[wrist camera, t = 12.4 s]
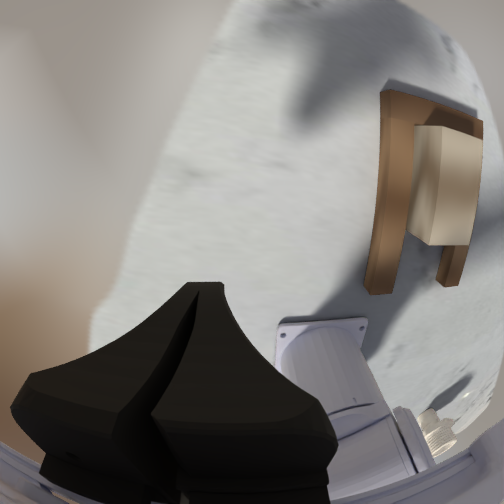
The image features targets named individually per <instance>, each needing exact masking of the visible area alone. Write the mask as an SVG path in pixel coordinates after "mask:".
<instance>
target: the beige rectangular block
mask: <svg viewBox="0 0 504 504" xmlns="http://www.w3.org/2000/svg"><path fill="white" fill-rule="evenodd" d="M482 150H483V140H481V139H478V138H475V137H473V136H470V135H467V134H465V133H462V132H459V131H456V130H453V129H450V128H447V127H444V126H414V154H413V170H412V182H411V191H410V200H409V208H408V215H407V222H406V228H405V230H407V231H408V232H410V233H411V234H413V235H414V236H416V237H417V238H419V239H420V240H422V241H423V242H425V243H426V244H428V245H469V243H470V238H471V234H472V229H473V224H474V219H475V213H476V207H477V201H478V194H479V186H480V177H481V166H482Z"/></svg>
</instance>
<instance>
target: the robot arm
mask: <svg viewBox="0 0 504 504" xmlns="http://www.w3.org/2000/svg"><path fill="white" fill-rule="evenodd" d="M367 325H368V320H367V318H365V317H359V318H349V319H339V320H327V321H314V322H299V323H283V324H280V325H279V326H278V327H277V338H276V354H275V368H274V367H273V366H272V365H271V364H270V363H269V362H268V361H267V360H266V359H265V358H264V357H263V356H262V355H261V354H260V353H259V352H258V351H257V349H256V348H255V347H254V346H253V345H252V343H251V342H250V341H249V340H248V338H247V337H246V336H245V334H244V333H243V331H242V330H241V328H240V326H239V325H238V323H237V321H236V320H235V318H234V316H233V314H232V312H231V310H230V308H229V305H228V303H227V300H226V297H225V293H224V284H223V283H222V282H187V283H186V284H185V285H184V286H183V287H181V288H180V289H179V290H178V291H177V292H176V293H175V294H174V295H173V296H172V297H171V298H170V299H169V300H168V301H167V302H165V303H164V304H163V305H162V306H161V307H160V308H159V309H158V310H156V311H155V312H154V313H153V314H152V315H150V316H149V317H148V318H147V319H145V320H144V321H143V322H142V323H140V324H139V325H138V326H136V327H135V328H134V329H132V330H131V331H129V332H128V333H126V334H124V335H123V336H121V337H120V338H118V339H117V340H115V341H113V342H111V343H109V344H107V345H105V346H104V347H102V348H100V349H98V350H96V351H94V352H92V353H90V354H88V355H85V356H83V357H81V358H78V359H76V360H73V361H71V362H68V363H65V364H62V365H59V366H56V367H53V368H49V369H46V370H42V371H38V372H35V373H31V374H30V375H29V377H28V378H27V380H26V381H25V383H24V385H23V386H22V388H21V389H20V391H19V393H18V394H17V396H16V398H15V399H14V401H13V403H12V405H11V406H10V408H11V413H12V416H13V418H14V419H15V421H16V423H17V424H18V425H19V426H20V427H21V429H22V430H23V431H24V432H25V433H26V434H27V435H28V436H29V437H30V438H31V439H32V440H33V441H34V442H35V443H36V444H37V445H38V446H39V447H40V448H41V449H42V450H43V451H44V452H45V453H46V455H45V458H44V460H43V463H42V465H41V464H39V463H37V462H35V461H33V460H31V459H29V458H28V457H26V456H24V455H22V454H20V453H19V452H17V451H15V450H13V449H12V448H10V447H8V446H7V445H5V444H4V443H2V442H0V504H69V503H67V502H66V501H64V500H62V499H60V498H58V497H56V496H54V495H53V494H52V492H51V491H53V492H55V493H57V494H59V495H61V496H63V497H66V498H68V499H70V500H72V501H75V502H77V503H80V504H500V503H501V502H502V501H503V500H504V419H502V420H501V421H499V422H498V423H496V424H495V425H494V426H492V427H490V428H489V429H488V430H486V431H485V432H484V433H482V434H481V435H480V436H479V437H478V438H477V439H476V440H475V441H474V442H473V443H472V444H471V445H470V447H469V448H467V449H465V450H464V451H462V452H460V453H458V454H457V455H455V456H453V457H451V458H449V459H447V460H445V461H443V462H441V463H439V464H437V465H436V464H435V461H434V459H433V456H432V454H431V451H430V449H429V447H428V444H427V442H426V440H425V438H424V435H423V433H422V431H421V429H420V427H419V425H418V423H417V421H416V419H415V417H414V415H413V414H412V412H411V410H410V409H407V408H402V407H401V406H398V407H396V408H395V409H393V413H394V415H395V417H394V416H393V414H392V412H391V410H390V408H389V407H388V405H387V403H386V401H385V400H384V398H383V395H382V393H381V391H380V389H379V387H378V385H377V383H376V380H375V378H374V376H373V374H372V372H371V370H370V368H369V366H368V364H367V362H366V360H365V358H364V356H363V354H362V352H361V350H360V349H361V346H362V343H363V339H364V336H365V333H366V329H367ZM362 326H363V327H362ZM360 327H362V328H360ZM282 333H285V334H284V335H281V334H282ZM395 418H396V419H395ZM396 420H397V421H396Z"/></svg>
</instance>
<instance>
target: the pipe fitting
mask: <svg viewBox="0 0 504 504" xmlns="http://www.w3.org/2000/svg"><path fill="white" fill-rule="evenodd" d="M417 419H418V422H419V425H420V426H421V429H422V431H423V435H424V438H425V440H426V442H427V444H428V447H429V449H430V451H431V454H432V456H433V458H434V457H436V456H438V455H440V454H442V453H443V452H445V451H446V450H448V449H449V448H450V447H451V446H453V445H454V444H455V443H456V440H457V438H456V436H454V435H455V434H453V432H452V429H451V427H452V426H453V425H454V423H455V422H454V421H453V419H449V418H444V419H443V420H441V421H440V419H439V418H438V416H437V413H436V412H435V411H434V409H433V408H430V409H428V410H426V411H424V412H423V413H422V414H420V415H419V416H418V418H417Z"/></svg>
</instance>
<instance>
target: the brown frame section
mask: <svg viewBox="0 0 504 504" xmlns="http://www.w3.org/2000/svg"><path fill="white" fill-rule="evenodd" d="M414 126H444V127H447V128H450V129H453V130H456V131H459V132H462V133H465V134H467V135H470V136H473V137H475V138H478V139H481V140H483V121H482V120H479V119H477V118H475V117H472V116H470V115H468V114H465V113H463V112H460V111H458V110H455V109H452V108H450V107H447V106H444V105H441V104H438V103H436V102H433V101H429V100H426V99H423V98H420V97H417V96H413V95H410V94H406V93H402V92H398V91H394V90H386V91H383V92H380V157H379V174H378V187H377V198H376V207H375V216H374V224H373V232H372V239H371V246H370V252H369V258H368V264H367V270H366V275H365V280H364V287H365V289H366V290H367V291H368V293H369V294H370V295H380V294H391V293H392V291H393V287H394V283H395V279H396V275H397V270H398V266H399V261H400V256H401V251H402V246H403V240H404V234H405V228H406V222H407V215H408V208H409V200H410V191H411V182H412V170H413V154H414ZM482 154H483V150H482ZM481 169H482V166H481ZM480 180H481V177H480ZM479 188H480V186H479ZM478 196H479V194H478ZM477 203H478V201H477ZM476 209H477V207H476ZM475 215H476V213H475ZM474 221H475V219H474ZM473 226H474V224H473ZM472 231H473V229H472ZM471 236H472V234H471ZM470 240H471V238H470ZM469 244H470V243H469ZM468 249H469V245H444V249H443V253H442V257H441V261H440V265H439V269H438V273H437V276H436V281H438V282H439V283H440V284H441V285H442V286H443V287H452V286H458V284H459V281H460V278H461V275H462V271H463V268H464V264H465V260H466V257H467V253H468Z"/></svg>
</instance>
